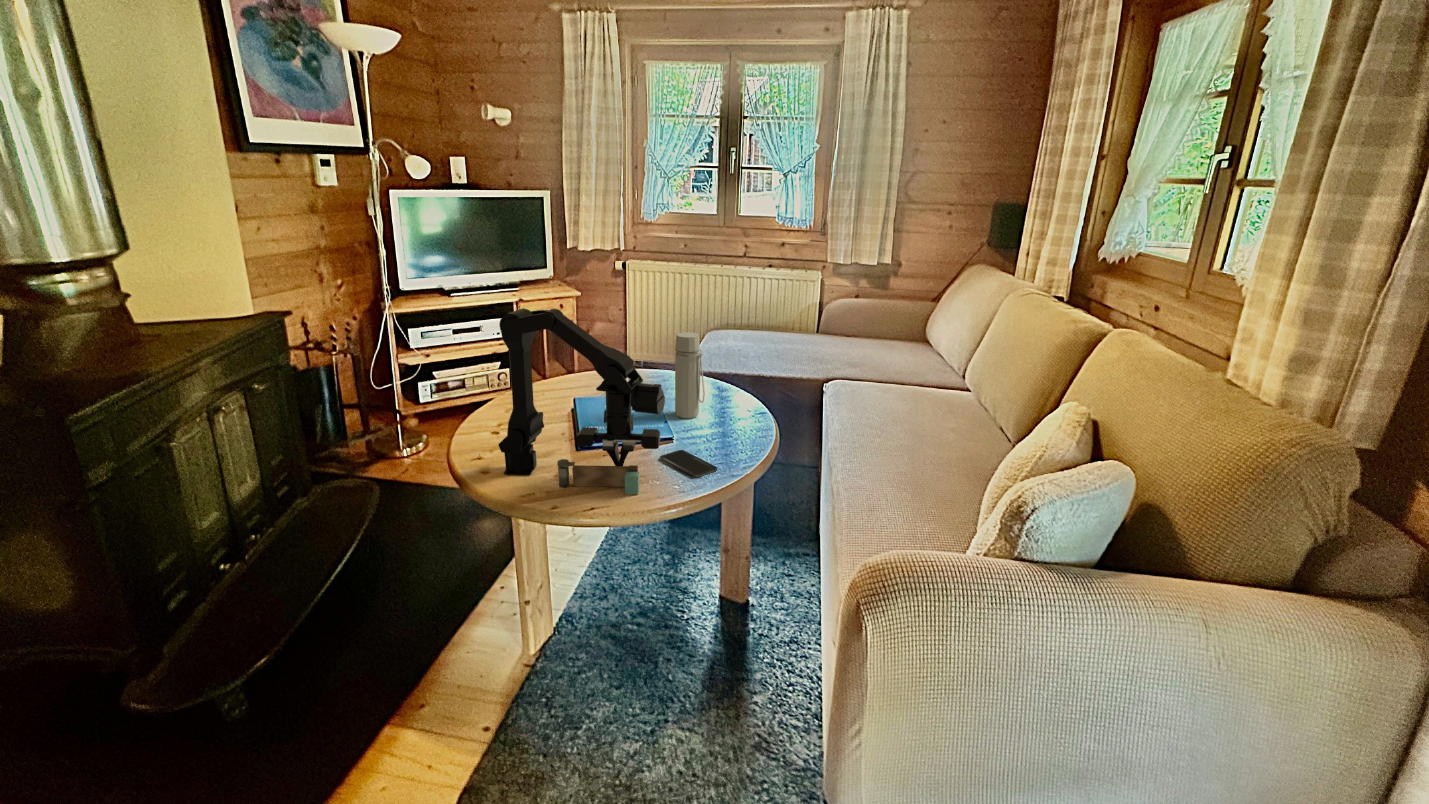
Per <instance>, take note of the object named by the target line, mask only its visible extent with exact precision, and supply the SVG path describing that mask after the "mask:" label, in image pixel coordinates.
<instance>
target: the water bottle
mask: <svg viewBox="0 0 1429 804" xmlns="http://www.w3.org/2000/svg"><path fill="white" fill-rule="evenodd" d="M699 336H700V335H699V333H696V332H692V331H689V332H688V331H684V332H678V333H676V334H675V338H676V339H675V346H674V351H675V354H674V355H675V356H674V357H675V359H674V362H675V363H674V375H675V376H674V381H675V383H674V384H675V386H674V390H675V391H674V394H675V395H674V403H675V404H674V406H675V408H674V414H675V415H676V416H677V417H679V418H681V419H688V420H689V419H693V418H696V417H697V416H698V415H699V413H700V408H699V407H700V404H699V403H702V404H703V403H704V401H705V397H706V396H705V394H706V393H705V381H704V371H703V362H702V357H703V353H704V352H703V350H701V347H700V337H699ZM701 383H702V391H703V392H702V393H703V395H702V400H701V396H700V394H701Z"/></svg>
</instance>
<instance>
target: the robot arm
mask: <svg viewBox="0 0 1429 804" xmlns="http://www.w3.org/2000/svg"><path fill="white" fill-rule="evenodd" d="M499 329H500V334H501V339H502V341H503V342H504V345H505V346H506V348H507V349H508V354H509V369H510V382H511V398H512V410H511V413H510V417H509V418H508V419H509V420H508V422H507V433H506V434H507V435H506V436H505V437H504V438H503V439H502V440H501V441H500V442H499V443H498V448H499V450H500V452H501V453H502V454H503V453H504V463H505V470H504V471H503V475H504V476H530V475H532V473H533V472H534V471H535V469H536V467H537V451H536V450H534V444H533V443H534V442H536V440H537V437H539V436H540V435H541V433H542V431H543V428H545V425H544V412H543V411H538V410H537V409H536V407H535V404H534V387H533V373H532V372H533V368H532V353H531V352H532V351H531V348H532V346H533V342H534V339H535V337H536V332H537V331H542V330H549V331H550V332H551V333H552V334H553V335H555V336H556V337H557V338H559V339H560V340H562V341H563V342H564V343H566V344H567V345H568V346H569V347H570V348H572V349H574V350H575V351H576V352H577V353H579V354H580V355H581V356H583V357H584V358H585V359H586V360H588V361H589V362H590V363H591V365H592V367H593V369H594V370H595V372H596V373H597V374H598V375H599V376H600V377H601V379H603V380H602V381H601V383H600V384H599V385H598V386H597V387H596V389H595V390H596V391H597V392H605V409H604V412H603V424H606V427H605V428H606V432H599V429H598V427H586V426H584V427H581V428H580V430H579V432H578V434H577V436H576V446H577V447H579V448H591V447H592V446H594V444H595V442H602V448H601V449H602V451H604V452H605V451H606V452H607V454H608V456H609V458H611V460H612V462H613V464H614V466H624V465H625V461H626V458H627V457H628V454H629V453H631V452H634V450H635V449H636V448H635V447H636V443H640V444H641V447H642V448H643V449H644V450H658V449H659V447H660V442H661V431H660V430H659V429H657V428H643V431H642V433H636V432H635V433H634V432H633V431H634V414H632V411H634V412H635V413H641V414H648V415H657V416H658V415H659V416H661V415H662V413H663V411H664V407H665V403H666V402H665V401H666V396H665V392H664V390H663V387H662V384H661V383H660V384H658V383H654V384H653V383H652V384H651V383H643V382H644V379H643V378H642V376H641V375H640V373H639V372H638V370H637V369H636V368H635V365H634V360H633V359H632V358H631V357H630V356H629V355H628V354H626V353H624V352H622V351H621V350H619V349H617V348H614V347H610V346H607V345H606V344H603V343H601V342H600V341H598V339H596V338H595V337H594V336H592V335H591V334H589V333H588V331H586V330H584V329H583V328H582V327H580V326H579V325H578V324H577V323H576V322H574V321H573V320H572V319H570V318H568V317H567V316H566V315H564V313H563V312H562V311H561V310H560V309H559V308H551V309H540V310H539V309H537V310H530V309H528V308H523V307H522V308H517V309H516V310H514V311H511V312H508V313H506V314H504V315H503V316H502V317H501V318H500V320H499ZM627 379H629V380H628V381H627ZM620 442H621V443H622V445H621V447H620V449H619V443H620ZM619 451H620V452H619Z"/></svg>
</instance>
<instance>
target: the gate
mask: <svg viewBox="0 0 1429 804" xmlns="http://www.w3.org/2000/svg"><path fill="white" fill-rule="evenodd" d="M566 466H569V467H572V468H571V470H572V486H573V487H624V488H625V473H626V472H639V465H631V464H629V465H623V466H615V465H576V462H575V461H569V460H568V459H566V458H564V459H559V460H557V467H566Z"/></svg>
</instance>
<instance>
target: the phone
mask: <svg viewBox="0 0 1429 804" xmlns="http://www.w3.org/2000/svg"><path fill="white" fill-rule="evenodd" d="M659 461H660V462H662V463H664V464H666V465H668V466H669V467H671V468H673V469H675V470H677V471H679V472H680V473H683V474H684V475H686V476H687V475H688V477H689V476H690V478H691V479H693V478H698V479H701V478H703V477H702V476H704V475H707V476H709V475H711V474H710V473H712V474H715V473H717V472H718V467H717V466H715V465H714V464H712V463H710V462H708V461H706V460H703V459H702V458H700V457H699V456H696V455H694V454H692V453H690V452H688V451H686V450H684V449H678V450H675V451H672V452H668V453H666V454H662V455H660V456H659ZM716 471H717V472H716ZM714 472H715V473H714ZM708 474H709V475H708ZM704 477H705V476H704Z"/></svg>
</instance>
